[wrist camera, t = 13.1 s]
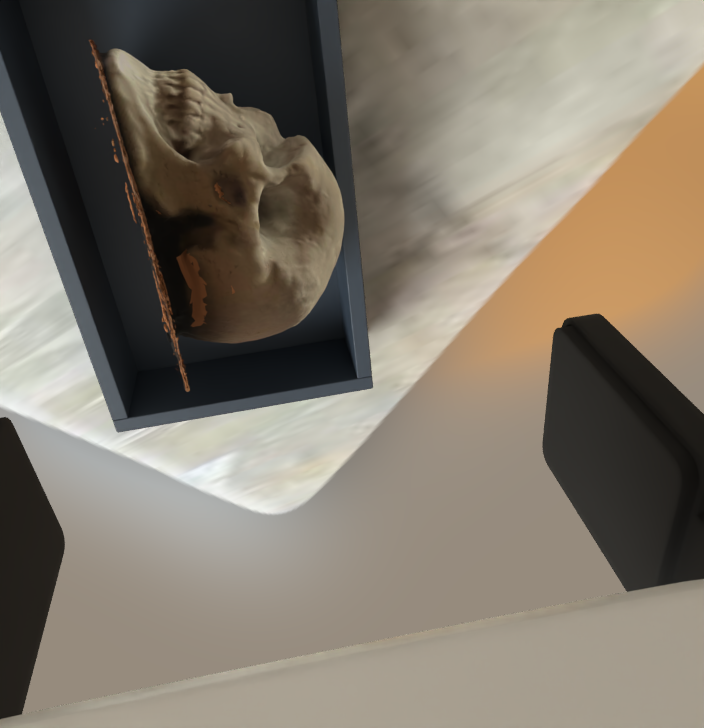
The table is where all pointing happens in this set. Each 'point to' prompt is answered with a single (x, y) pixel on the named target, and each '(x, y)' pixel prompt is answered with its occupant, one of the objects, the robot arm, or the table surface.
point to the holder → (112, 208)
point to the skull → (221, 205)
